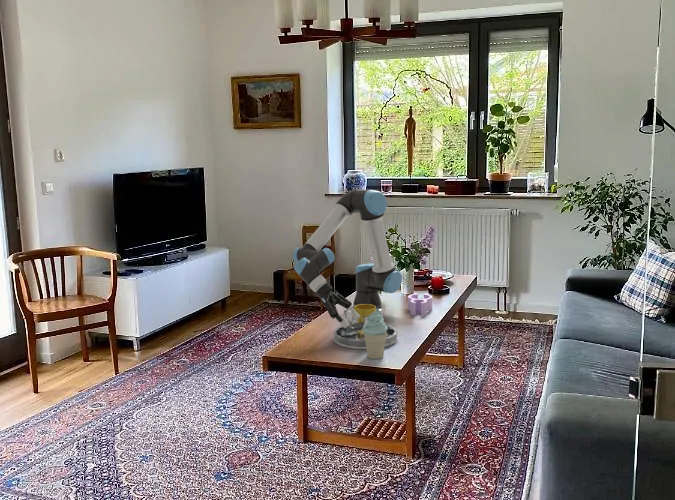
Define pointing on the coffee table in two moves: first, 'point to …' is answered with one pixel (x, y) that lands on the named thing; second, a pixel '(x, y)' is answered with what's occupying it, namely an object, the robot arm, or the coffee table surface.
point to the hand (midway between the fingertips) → (352, 322)
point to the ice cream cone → (375, 335)
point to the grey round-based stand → (348, 330)
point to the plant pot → (364, 311)
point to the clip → (419, 304)
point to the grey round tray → (362, 336)
